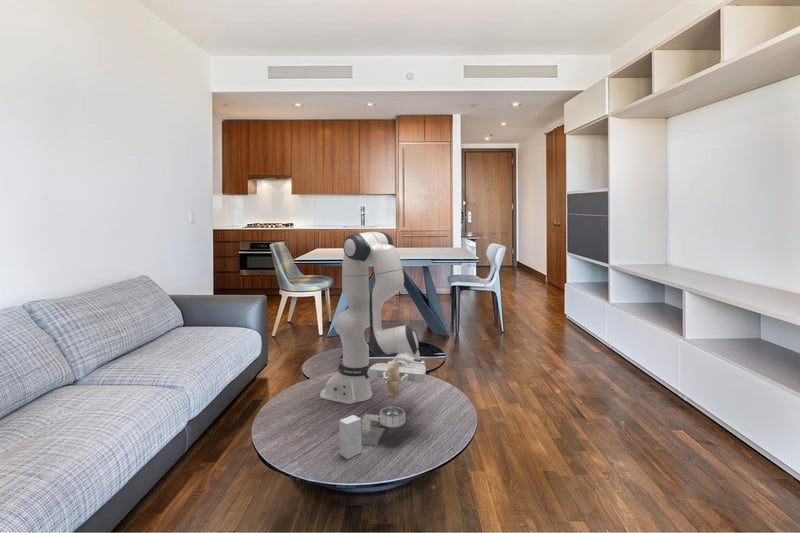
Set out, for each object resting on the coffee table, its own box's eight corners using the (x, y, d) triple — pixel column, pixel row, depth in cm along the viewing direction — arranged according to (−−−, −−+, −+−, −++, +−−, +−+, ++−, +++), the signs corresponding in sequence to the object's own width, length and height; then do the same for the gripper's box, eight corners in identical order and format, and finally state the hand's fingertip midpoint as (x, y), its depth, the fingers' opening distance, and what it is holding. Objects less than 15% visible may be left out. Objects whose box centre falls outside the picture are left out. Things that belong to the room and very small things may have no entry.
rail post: (385, 398, 158) (386, 364, 156) (388, 393, 162) (389, 360, 160) (397, 399, 157) (397, 365, 155) (400, 395, 161) (400, 361, 159)
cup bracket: (349, 442, 159) (349, 413, 158) (358, 429, 169) (358, 401, 168) (401, 449, 155) (401, 419, 154) (408, 435, 165) (408, 407, 163)
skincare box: (353, 448, 156) (353, 414, 154) (361, 453, 153) (361, 418, 151) (339, 454, 151) (338, 419, 150) (347, 459, 148) (347, 424, 147)
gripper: (375, 356, 173) (363, 368, 160) (429, 361, 168) (421, 374, 155) (374, 373, 174) (363, 386, 160) (428, 378, 169) (421, 392, 156)
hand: (392, 380), depth 158 cm, fingers closed on rail post, 4 cm apart
